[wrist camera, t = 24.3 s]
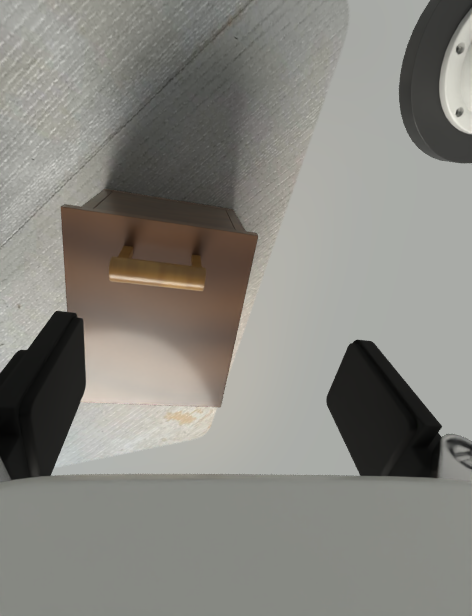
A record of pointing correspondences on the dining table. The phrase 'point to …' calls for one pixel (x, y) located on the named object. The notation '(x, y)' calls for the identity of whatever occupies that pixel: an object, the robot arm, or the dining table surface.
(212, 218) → the chest
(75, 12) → the dining table surface
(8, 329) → the dining table surface
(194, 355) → the lid
